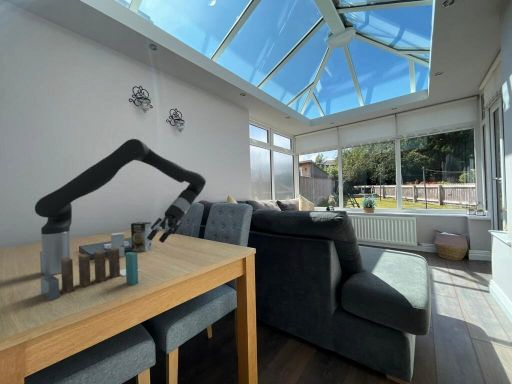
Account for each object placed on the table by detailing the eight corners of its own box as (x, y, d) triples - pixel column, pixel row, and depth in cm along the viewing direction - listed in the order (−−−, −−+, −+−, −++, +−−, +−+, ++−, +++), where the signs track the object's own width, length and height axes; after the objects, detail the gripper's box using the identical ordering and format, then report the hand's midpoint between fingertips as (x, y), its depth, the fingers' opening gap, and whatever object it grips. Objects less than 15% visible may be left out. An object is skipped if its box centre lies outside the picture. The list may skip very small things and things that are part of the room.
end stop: (49, 300, 70) (48, 281, 70) (41, 294, 75) (40, 276, 75) (59, 297, 72) (58, 279, 72) (51, 291, 77) (50, 274, 77)
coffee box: (131, 251, 127) (130, 223, 127) (138, 248, 134) (137, 221, 133) (145, 251, 126) (144, 223, 126) (152, 248, 132) (151, 221, 132)
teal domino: (133, 285, 80) (132, 254, 79) (126, 282, 82) (125, 253, 82) (138, 283, 81) (137, 253, 81) (131, 280, 84) (130, 251, 84)
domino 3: (100, 282, 83) (99, 253, 83) (95, 279, 86) (94, 251, 86) (106, 280, 85) (104, 252, 85) (100, 278, 88) (99, 250, 87)
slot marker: (123, 276, 88) (123, 275, 88) (114, 272, 93) (114, 272, 93) (140, 270, 94) (140, 270, 94) (131, 267, 99) (131, 267, 99)
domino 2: (84, 287, 79) (83, 256, 79) (79, 284, 82) (78, 254, 82) (90, 285, 81) (89, 255, 80) (85, 282, 83) (84, 253, 83)
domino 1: (67, 293, 75) (65, 260, 75) (62, 289, 78) (60, 258, 78) (73, 291, 76) (72, 259, 76) (68, 287, 79) (67, 257, 79)
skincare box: (111, 258, 114) (110, 235, 114) (111, 256, 118) (110, 233, 118) (125, 256, 118) (124, 233, 118) (124, 254, 122) (123, 232, 122)
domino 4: (115, 277, 87) (114, 250, 87) (109, 275, 90) (108, 248, 90) (120, 276, 89) (119, 249, 89) (114, 273, 92) (113, 247, 92)
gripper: (162, 204, 101) (138, 233, 91) (182, 204, 93) (158, 236, 83) (173, 214, 105) (151, 243, 96) (193, 215, 97) (171, 247, 88)
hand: (154, 240), depth 89 cm, fingers open, 8 cm apart
